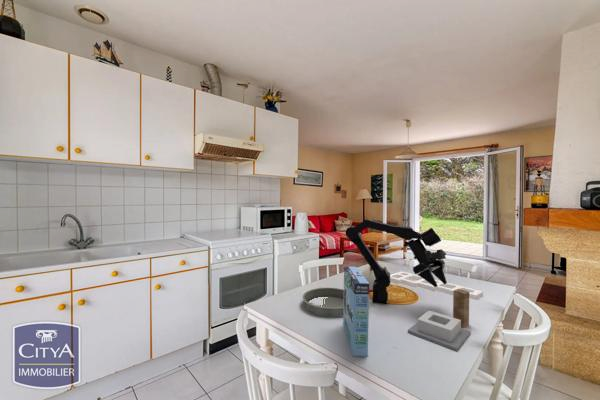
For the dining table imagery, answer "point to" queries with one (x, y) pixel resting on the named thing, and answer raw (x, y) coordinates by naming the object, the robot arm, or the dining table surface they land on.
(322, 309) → the cake pan
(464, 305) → the walnut peg
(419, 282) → the holder
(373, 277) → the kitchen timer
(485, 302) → the dining table surface
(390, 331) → the dining table surface
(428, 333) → the socket board
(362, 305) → the gum box
